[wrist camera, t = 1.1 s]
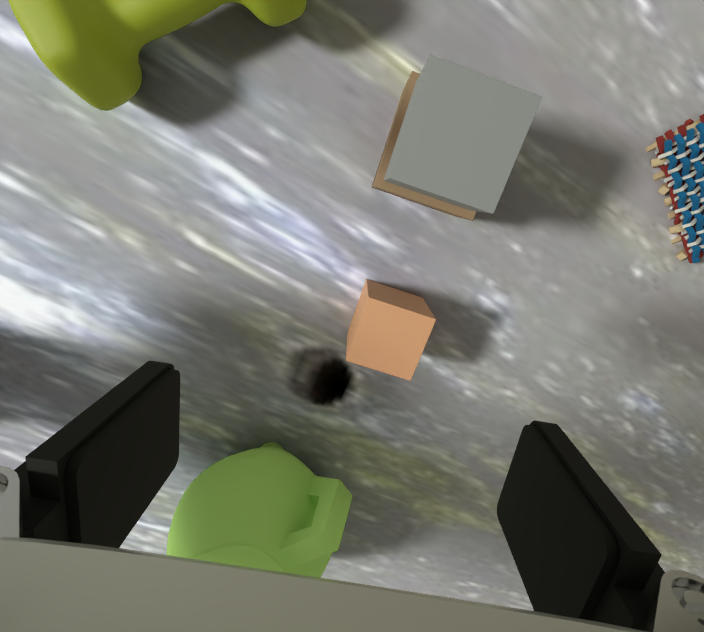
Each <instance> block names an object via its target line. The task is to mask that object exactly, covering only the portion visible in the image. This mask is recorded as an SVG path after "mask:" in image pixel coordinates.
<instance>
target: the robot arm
mask: <svg viewBox="0 0 704 632" xmlns="http://www.w3.org/2000/svg"><path fill="white" fill-rule="evenodd" d="M179 413H180V373H179V371H178V370H174V366H173V365H172V364H169V363H162V362H156V361H148V362H147V363H145V364H144V365H143V366H141V367H140V368H139V369H138V370H136V371H135V372H134V373H132V374H131V375H130V376H129V377H127V378H126V379H125V380H123V381H122V382H121V383H120V384H118V385H117V386H116V387H114V388H113V389H112V390H111V391H109V392H108V393H107V394H105V395H104V396H103V397H102V398H100V399H99V400H98V401H96V402H95V403H94V404H93V405H91V406H90V407H89V408H88V409H86V410H85V411H84V412H82V413H81V414H80V415H79V416H77V417H76V418H75V419H73V420H72V421H71V422H70V423H68V424H67V425H66V426H64V427H63V428H62V429H61V430H59V431H58V432H57V433H55V434H54V435H53V436H52V437H50V438H49V439H48V440H46V441H45V442H44V443H43V444H41V445H40V446H39V447H37V448H36V449H35V450H34V451H32V452H31V453H30V454H29V455H27V456H26V461H25V462H24V463H23V464H21V465H20V466H19V467H18V468H16V469H15V470H12V469H11V468H8V467H3V466H0V632H704V579H703V578H701V577H699V576H697V575H695V574H691V573H688V572H685V571H680V570H670V571H667V572H664V571H663V569H662V568H661V567H660V565H659V564H658V561H659V559H660V557H661V553H660V552H659V551H658V550H657V548H656V547H655V546H654V545H653V543H652V542H651V541H650V540H649V538H648V537H647V536H646V535H645V533H644V532H643V531H642V530H641V528H640V527H639V526H638V525H637V523H636V522H635V521H634V520H633V518H632V517H631V516H630V515H629V513H628V512H627V511H626V510H625V508H624V507H623V506H622V505H621V503H620V502H619V501H618V500H617V498H616V497H615V496H614V495H613V493H612V492H611V491H610V490H609V488H608V487H607V486H606V485H605V483H604V482H603V481H602V479H601V478H600V477H599V476H598V474H597V473H596V472H595V471H594V469H593V468H592V467H591V466H590V464H589V463H588V462H587V461H586V459H585V458H584V457H583V456H582V454H581V453H580V452H579V451H578V449H577V448H576V447H575V446H574V444H573V443H572V442H571V441H570V439H569V438H568V437H567V436H566V434H565V433H564V432H563V431H562V429H561V428H560V427H559V426H558V425H557V424H553V423H547V422H540V421H532V422H531V424H530V425H525V426H524V427H523V430H522V432H521V435H520V438H519V441H518V444H517V447H516V450H515V453H514V456H513V459H512V462H511V465H510V468H509V471H508V474H507V477H506V480H505V483H504V486H503V489H502V492H501V495H500V498H499V501H498V505H497V515H498V519H499V522H500V524H501V527H502V530H503V532H504V535H505V537H506V540H507V542H508V545H509V547H510V550H511V553H512V555H513V558H514V560H515V563H516V565H517V568H518V571H519V573H520V576H521V578H522V581H523V583H524V586H525V588H526V591H527V594H528V596H529V599H530V601H531V604H532V606H533V609H534V611H530V610H523V609H517V608H511V607H504V606H498V605H492V604H486V603H479V602H473V601H467V600H460V599H454V598H448V597H442V596H435V595H429V594H423V593H416V592H410V591H403V590H397V589H390V588H384V587H377V586H371V585H364V584H358V583H351V582H345V581H338V580H332V579H325V578H319V577H312V576H305V575H299V574H292V573H286V572H279V571H272V570H265V569H259V568H252V567H245V566H238V565H231V564H224V563H218V562H211V561H204V560H197V559H190V558H183V557H177V556H170V555H163V554H156V553H149V552H142V551H135V550H128V549H121V548H119V547H120V546H121V544H122V543H123V541H124V540H125V538H126V537H127V536H128V534H129V533H130V531H131V530H132V528H133V527H134V526H135V524H136V523H137V521H138V520H139V518H140V517H141V515H142V514H143V513H144V511H145V510H146V508H147V507H148V505H149V504H150V503H151V501H152V500H153V498H154V497H155V495H156V494H157V493H158V491H159V490H160V488H161V487H162V485H163V484H164V482H165V481H166V480H167V478H168V477H169V475H170V474H171V472H172V471H173V470H174V468H175V466H176V464H177V461H178V457H179Z"/></svg>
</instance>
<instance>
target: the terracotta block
mask: <svg viewBox="0 0 704 632" xmlns="http://www.w3.org/2000/svg"><path fill="white" fill-rule="evenodd" d="M435 321H436V318H435V317H434V315H433V314H432V312H431V310H430V309H429V307H428V306H427V304H426V302H425V301H424V299H423V298H422V297H419V296H416V295H413V294H410V293H407V292H404V291H401V290H398V289H395V288H392V287H389V286H386V285H383V284H380V283H377V282H374V281H371V280H368V279H366V282H365V284H364V287H363V290H362V293H361V296H360V299H359V301H358V304H357V307H356V310H355V313H354V316H353V319H352V321H351V324H350V327H349V330H348V333H347V350H346V361H349V362H352V363H355V364H358V365H361V366H365V367H368V368H371V369H374V370H378V371H381V372H384V373H387V374H390V375H394V376H397V377H400V378H403V379H406V380H410V381H411V378H412V376H413V373H414V371H415V369H416V366H417V364H418V362H419V359H420V357H421V354H422V352H423V350H424V347H425V345H426V343H427V340H428V338H429V335H430V333H431V331H432V328H433V326H434V323H435Z"/></svg>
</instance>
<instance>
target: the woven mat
mask: <svg viewBox="0 0 704 632" xmlns="http://www.w3.org/2000/svg"><path fill="white" fill-rule="evenodd" d="M699 117H700V119H699V120H697V121H695V122H693V120H691V119H689V120H687V121H685V124H684V125H681V126H679V127H677V129H678V130H677V131H676V132H674V133H673V132H672V130H669V131H667V132H666V133H664V134H665V137H663V136H659V137H657V138H656V142H655V143H653V144H652V145H650V146H649V147H647V148H646V151H647V152H649V151H652V150H654V149H656V152H655V154H657V156H656V157H657V158H655V159H652V160H651V165H652V167H653V168H655V167H658V166H659V168H660V169H661V170H662V171H660V172H658V173H657V174H655V175H653V177H654V181H656V180H659V179H661V178H664V177H665V178H666V179H664V182H667V183H666V184H663V185H662V186H661V187H660V189H659V190H658V192H660V193H661V194H663V195H665V194H666V193H667V192H668V191H669V193H670V197H667V198H665V200H664V202H665V206H669V205H671V207H670V209H674V211H672V212H670V213H668V216H669V219H671V218H674V217H675V220H674V224H675V225H674V226H672V227H669V229H670V233H678V234H679V235H680V236H678V237H676V238H675V239H673V240H671V242H672V244H674V243H677V242H680V241H682V242H683V245H684V248H685V249H682V250H681V251H680V252H679V253H678V254H677V255H676V257H677V258H678V259H680V260H682V259H685V258H688V261H689V263H697V262H699V261H700V260H699V258H700V257H702V256H703V254H704V114H703V115H701V116H699ZM698 134H700V135H698ZM677 144H678V146H677ZM691 151H692V152H691ZM690 152H691V155H690ZM689 155H690V156H689ZM668 163H669V166H668V165H667V164H668ZM693 169H695V170H693ZM691 200H692V202H690V201H691ZM683 218H684V219H683ZM682 219H683V220H682Z"/></svg>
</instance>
